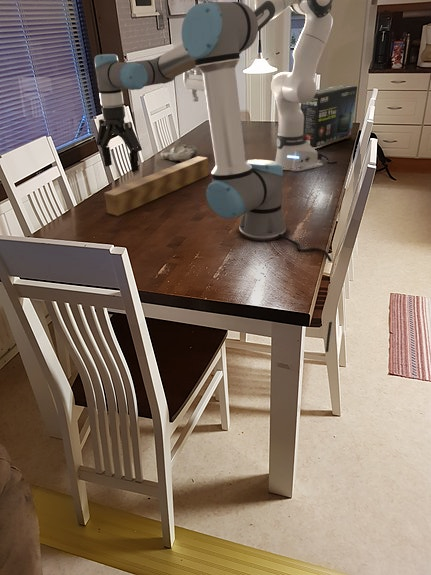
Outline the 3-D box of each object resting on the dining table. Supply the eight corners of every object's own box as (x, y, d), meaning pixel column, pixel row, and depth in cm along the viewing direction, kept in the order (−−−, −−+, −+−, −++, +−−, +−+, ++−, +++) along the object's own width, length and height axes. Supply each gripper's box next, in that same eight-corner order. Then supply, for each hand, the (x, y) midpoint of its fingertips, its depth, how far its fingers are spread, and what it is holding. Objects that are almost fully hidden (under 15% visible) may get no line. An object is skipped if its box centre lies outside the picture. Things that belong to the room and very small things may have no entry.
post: (117, 215, 166) (114, 195, 162) (107, 212, 169) (103, 192, 165) (208, 175, 204) (208, 157, 200) (198, 173, 207) (198, 156, 203)
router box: (314, 151, 231) (318, 94, 217) (296, 148, 237) (299, 92, 224) (352, 138, 251) (358, 85, 238) (335, 135, 258) (340, 83, 245)
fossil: (184, 156, 217) (163, 136, 220) (174, 174, 223) (154, 154, 227) (205, 153, 231) (186, 134, 234) (195, 171, 237) (176, 152, 240)
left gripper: (147, 106, 150) (154, 170, 161) (96, 101, 163) (105, 160, 174) (131, 110, 145) (139, 176, 156) (79, 104, 158) (90, 165, 169)
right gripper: (225, 66, 174) (225, 104, 181) (192, 62, 187) (193, 99, 194) (212, 67, 170) (212, 106, 177) (180, 63, 184) (181, 100, 191)
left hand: (121, 168), depth 165 cm, fingers open, 13 cm apart
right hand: (202, 102), depth 186 cm, fingers open, 8 cm apart
